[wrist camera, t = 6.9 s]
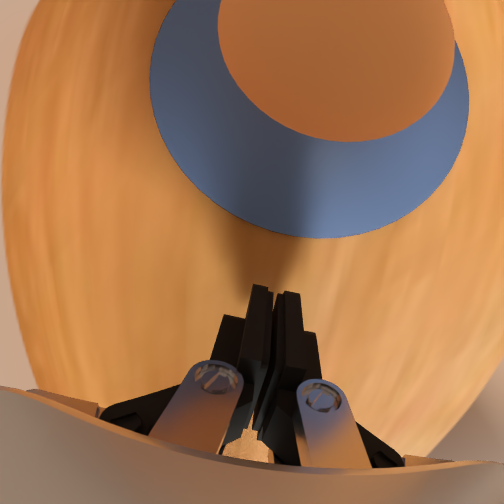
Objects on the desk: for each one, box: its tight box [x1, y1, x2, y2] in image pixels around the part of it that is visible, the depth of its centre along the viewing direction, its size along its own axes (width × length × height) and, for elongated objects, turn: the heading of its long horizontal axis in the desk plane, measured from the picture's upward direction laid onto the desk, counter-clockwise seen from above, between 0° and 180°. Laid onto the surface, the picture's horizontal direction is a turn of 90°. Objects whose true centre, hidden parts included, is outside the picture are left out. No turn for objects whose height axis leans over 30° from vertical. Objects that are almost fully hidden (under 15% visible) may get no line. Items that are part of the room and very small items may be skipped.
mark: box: [150, 0, 469, 238], centre depth 9 cm, size 12×12×1 cm
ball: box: [218, 0, 455, 142], centre depth 6 cm, size 6×6×6 cm
